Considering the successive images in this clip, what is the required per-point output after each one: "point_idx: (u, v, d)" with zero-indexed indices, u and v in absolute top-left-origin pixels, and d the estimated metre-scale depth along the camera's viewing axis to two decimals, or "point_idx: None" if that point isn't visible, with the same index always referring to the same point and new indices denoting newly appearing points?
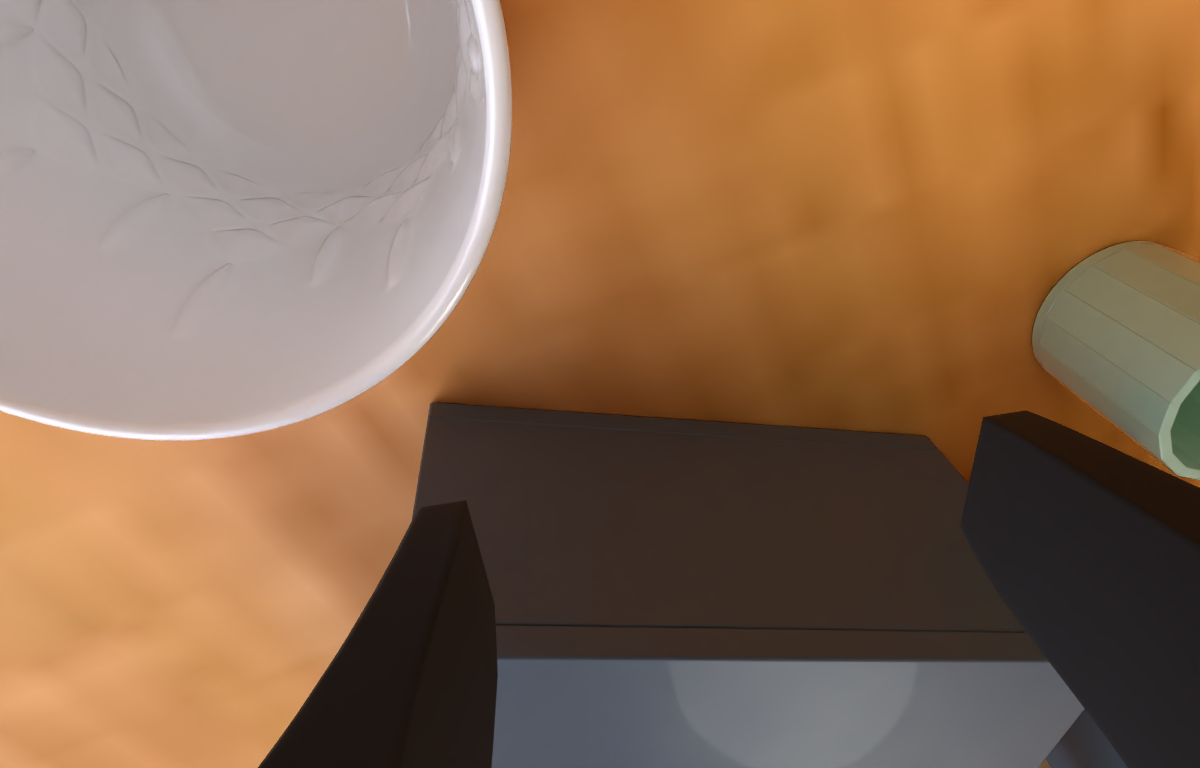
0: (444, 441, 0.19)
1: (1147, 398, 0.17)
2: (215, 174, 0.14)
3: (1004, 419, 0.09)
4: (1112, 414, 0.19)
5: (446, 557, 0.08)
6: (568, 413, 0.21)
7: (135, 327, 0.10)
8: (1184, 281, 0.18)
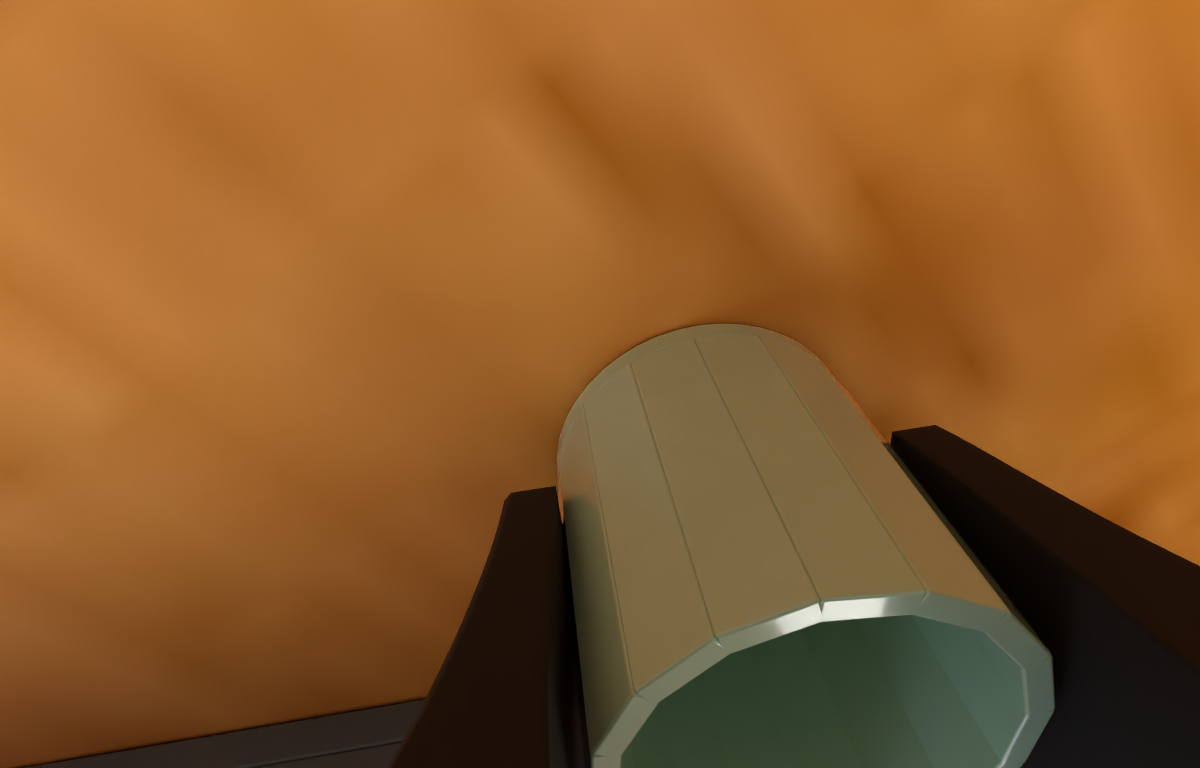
0: None
1: None
2: None
3: (911, 434, 0.09)
4: None
5: (550, 540, 0.08)
6: None
7: None
8: (654, 463, 0.08)
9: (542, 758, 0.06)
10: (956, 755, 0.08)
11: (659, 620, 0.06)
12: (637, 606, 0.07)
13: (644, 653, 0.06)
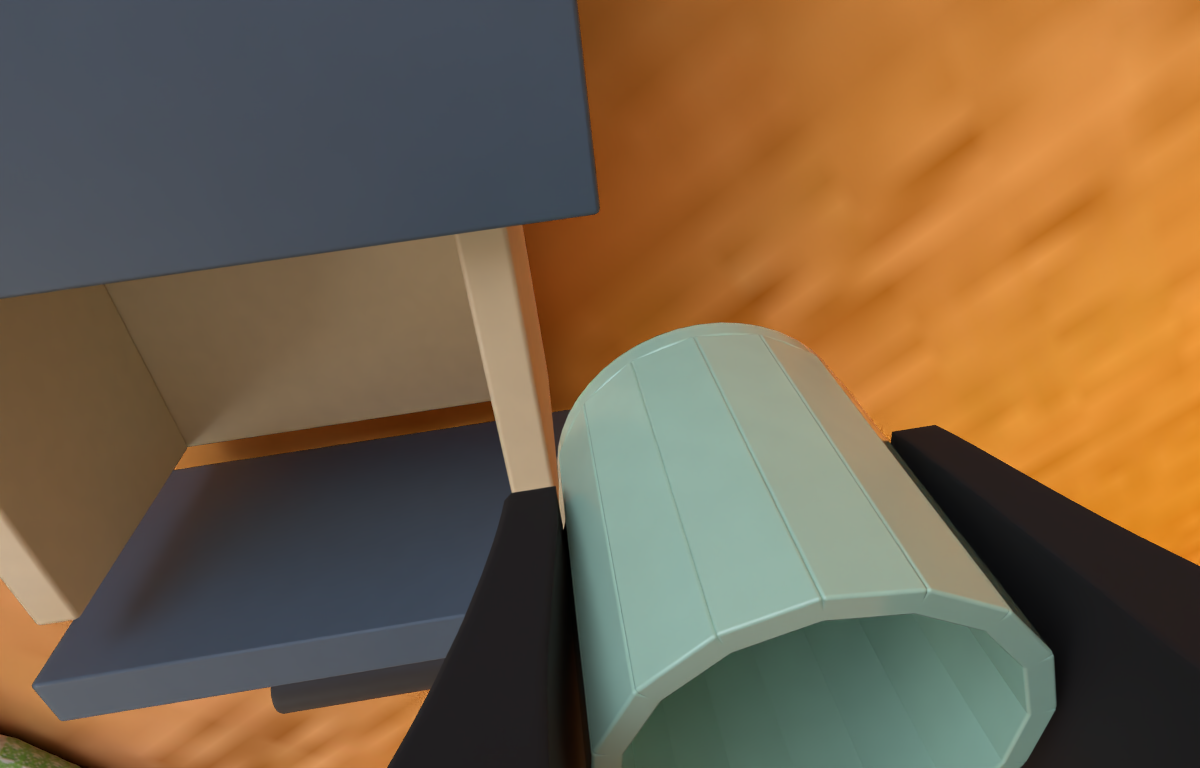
0: None
1: None
2: None
3: (911, 434, 0.09)
4: None
5: (550, 540, 0.08)
6: None
7: None
8: (655, 462, 0.08)
9: (542, 758, 0.06)
10: (957, 754, 0.08)
11: (660, 619, 0.06)
12: (638, 605, 0.07)
13: (645, 652, 0.06)
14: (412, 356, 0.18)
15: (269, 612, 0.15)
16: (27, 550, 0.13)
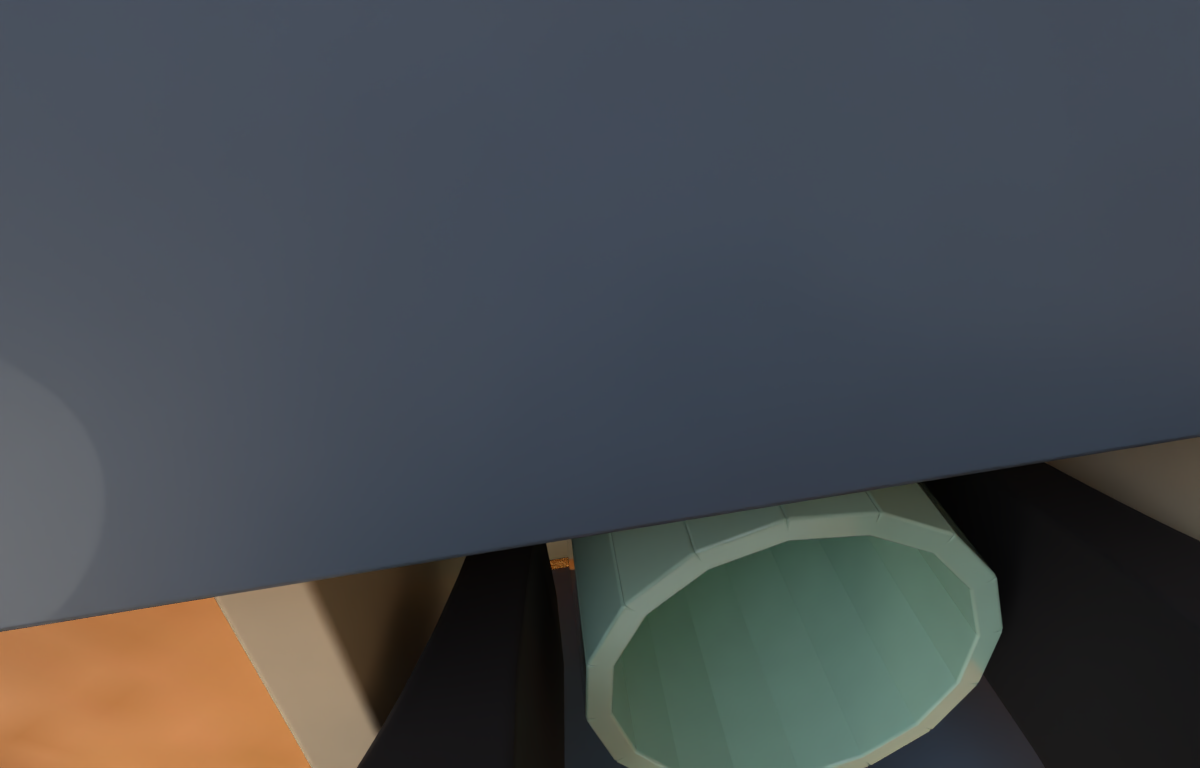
0: None
1: None
2: None
3: None
4: None
5: None
6: None
7: None
8: None
9: (507, 764, 0.06)
10: (919, 680, 0.09)
11: (647, 544, 0.07)
12: (628, 535, 0.08)
13: (633, 572, 0.07)
14: None
15: None
16: None
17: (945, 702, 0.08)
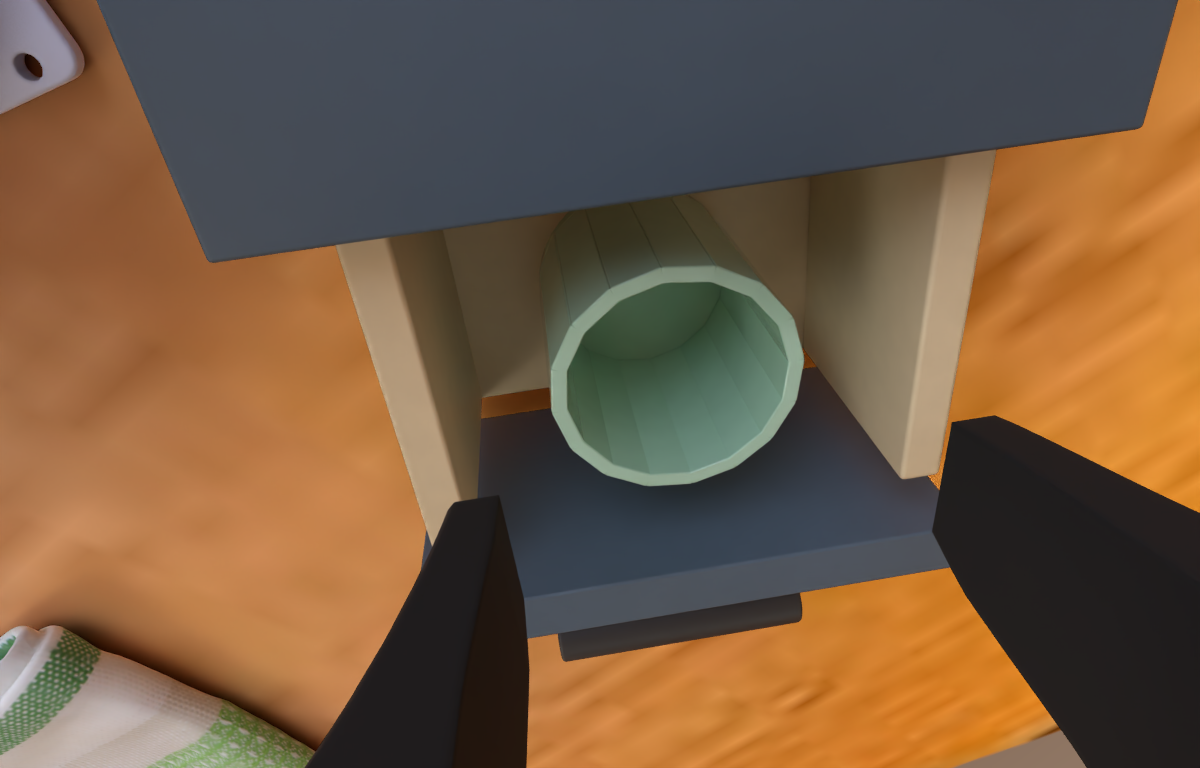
0: None
1: None
2: None
3: (972, 424, 0.09)
4: None
5: (484, 551, 0.08)
6: None
7: None
8: (591, 241, 0.14)
9: None
10: (764, 407, 0.14)
11: (585, 295, 0.12)
12: (576, 296, 0.13)
13: (577, 309, 0.12)
14: None
15: (625, 549, 0.15)
16: (452, 477, 0.13)
17: (776, 414, 0.14)
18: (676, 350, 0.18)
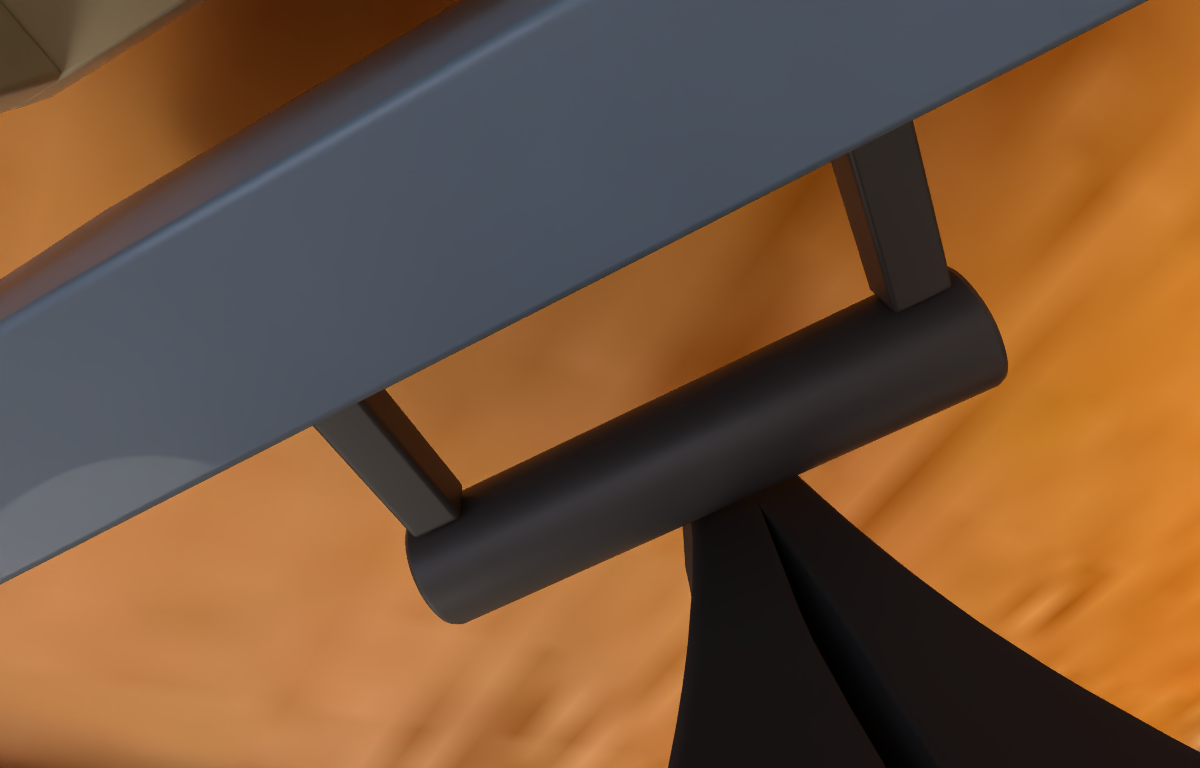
0: None
1: None
2: None
3: None
4: None
5: (754, 507, 0.08)
6: None
7: None
8: None
9: (840, 706, 0.06)
10: None
11: None
12: None
13: None
14: None
15: (225, 174, 0.04)
16: None
17: None
18: None
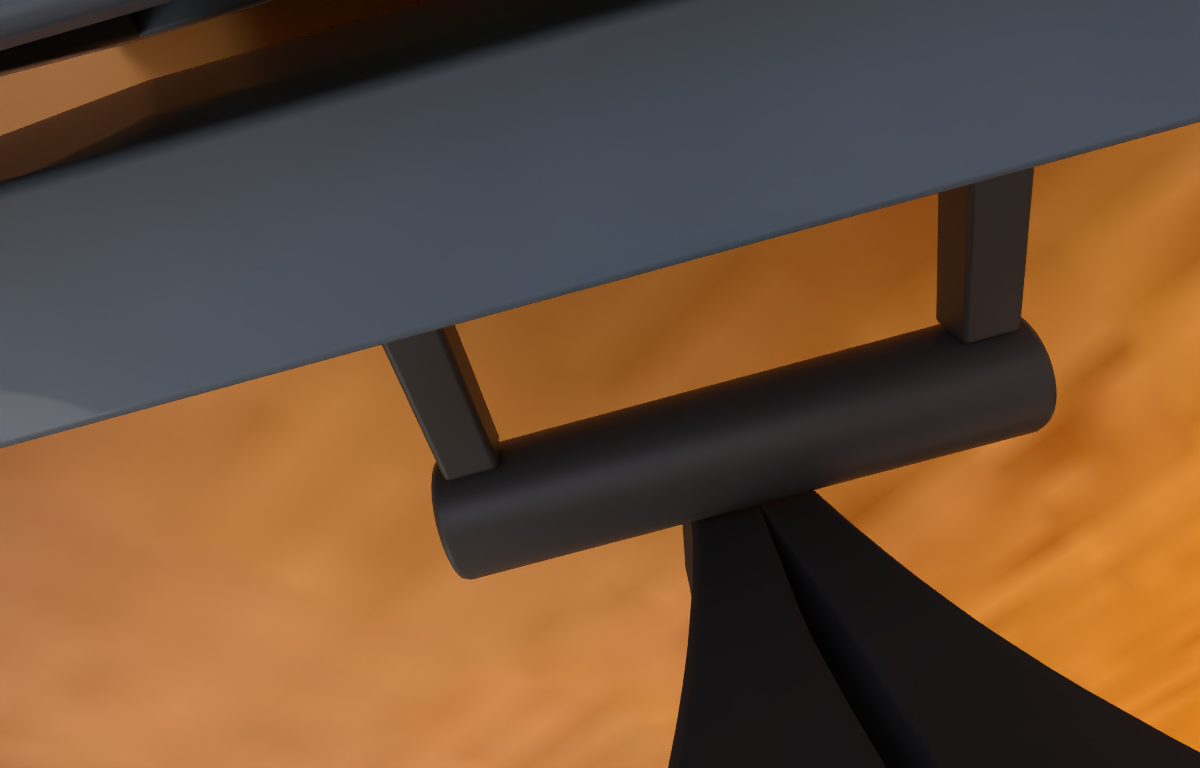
0: None
1: None
2: None
3: None
4: None
5: (753, 507, 0.08)
6: None
7: None
8: None
9: (840, 706, 0.06)
10: None
11: None
12: None
13: None
14: None
15: (467, 30, 0.04)
16: None
17: None
18: None
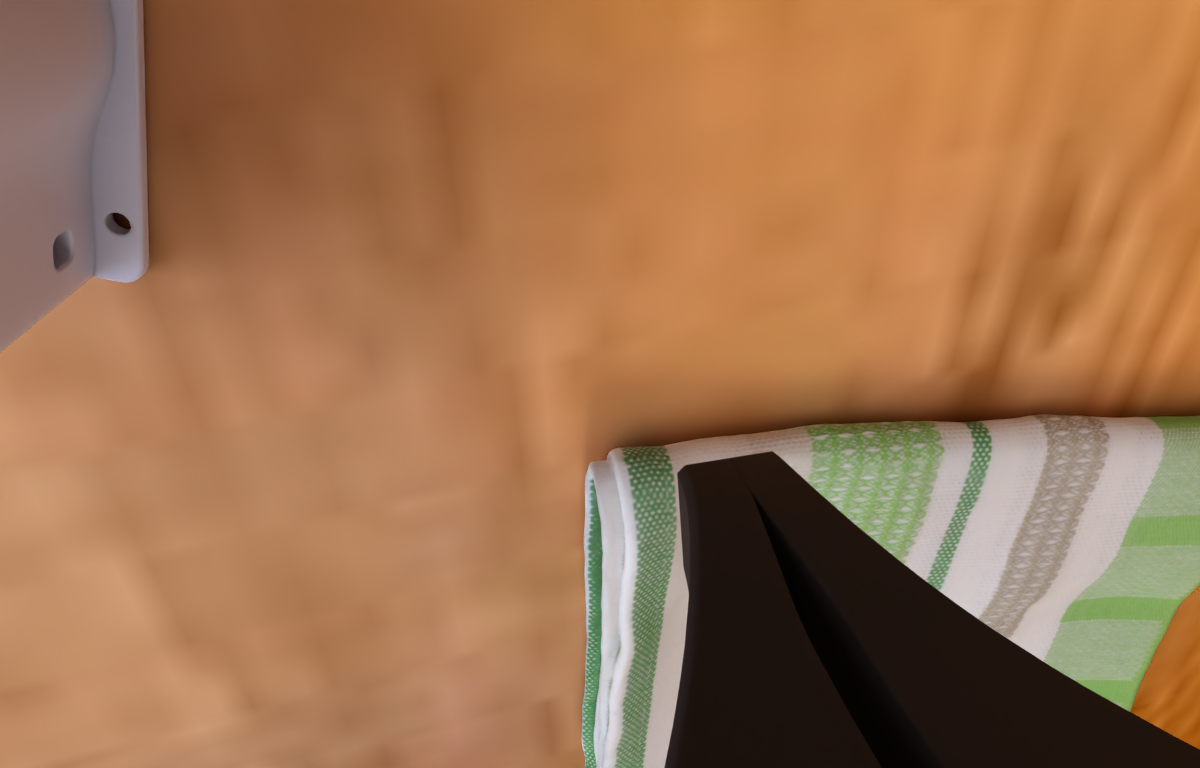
0: None
1: None
2: None
3: (745, 461, 0.09)
4: None
5: (751, 508, 0.08)
6: None
7: None
8: None
9: (837, 707, 0.06)
10: None
11: None
12: None
13: None
14: None
15: None
16: None
17: None
18: None
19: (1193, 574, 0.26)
